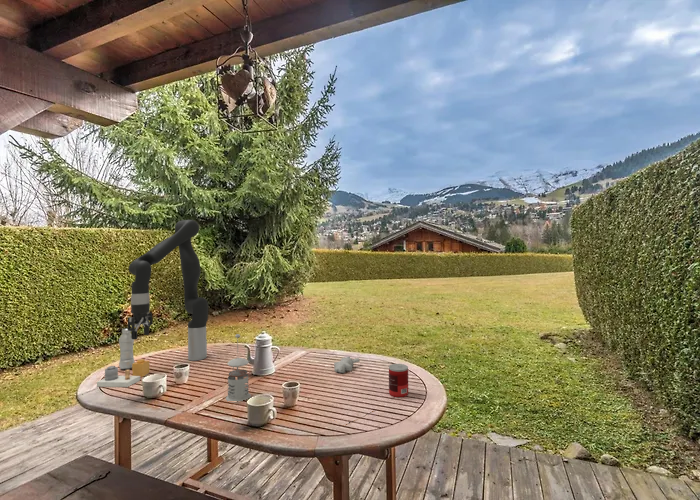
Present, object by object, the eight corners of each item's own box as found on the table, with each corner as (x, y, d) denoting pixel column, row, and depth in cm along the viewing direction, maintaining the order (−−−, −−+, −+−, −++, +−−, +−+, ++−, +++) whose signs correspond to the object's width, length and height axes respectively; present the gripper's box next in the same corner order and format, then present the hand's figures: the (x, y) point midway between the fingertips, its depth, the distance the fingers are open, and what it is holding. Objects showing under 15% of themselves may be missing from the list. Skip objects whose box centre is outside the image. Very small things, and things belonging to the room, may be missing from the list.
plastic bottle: (137, 366, 178) (137, 327, 178) (128, 371, 171) (127, 330, 171) (125, 366, 178) (125, 327, 178) (115, 370, 172) (115, 330, 172)
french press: (227, 404, 132) (226, 338, 132) (222, 393, 143) (222, 332, 143) (253, 399, 137) (252, 335, 137) (247, 388, 147) (246, 329, 147)
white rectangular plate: (110, 379, 160) (110, 375, 160) (140, 380, 158) (140, 375, 158) (96, 386, 152) (96, 381, 152) (127, 387, 150) (127, 382, 150)
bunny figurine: (329, 364, 166) (345, 352, 179) (329, 374, 167) (345, 361, 180) (346, 367, 162) (361, 354, 174) (346, 377, 162) (362, 364, 175)
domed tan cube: (139, 372, 168) (139, 358, 168) (149, 372, 168) (149, 358, 168) (132, 376, 163) (132, 361, 163) (142, 376, 163) (142, 361, 163)
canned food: (409, 391, 142) (409, 364, 143) (406, 399, 135) (406, 370, 135) (391, 389, 145) (391, 362, 145) (387, 396, 137) (386, 368, 137)
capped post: (110, 376, 158) (110, 365, 158) (120, 376, 157) (120, 365, 157) (102, 380, 153) (102, 368, 153) (112, 380, 153) (112, 368, 153)
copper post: (127, 378, 156) (127, 369, 156) (130, 378, 156) (130, 369, 156) (124, 379, 154) (124, 370, 154) (128, 379, 154) (127, 370, 154)
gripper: (137, 305, 159) (138, 340, 158) (157, 300, 173) (157, 333, 173) (121, 305, 159) (122, 340, 159) (142, 300, 173) (143, 333, 173)
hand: (140, 336), depth 166 cm, fingers open, 8 cm apart
